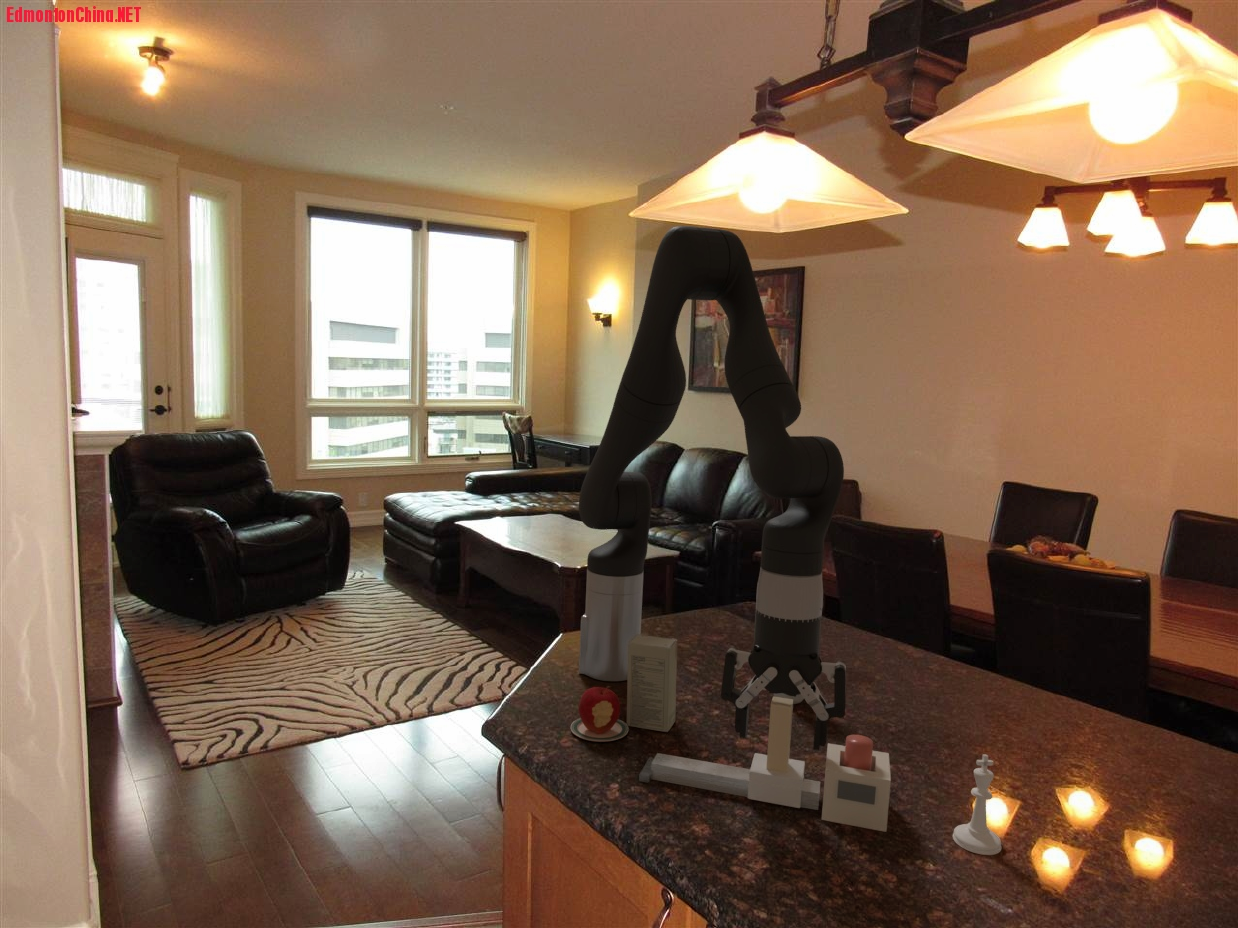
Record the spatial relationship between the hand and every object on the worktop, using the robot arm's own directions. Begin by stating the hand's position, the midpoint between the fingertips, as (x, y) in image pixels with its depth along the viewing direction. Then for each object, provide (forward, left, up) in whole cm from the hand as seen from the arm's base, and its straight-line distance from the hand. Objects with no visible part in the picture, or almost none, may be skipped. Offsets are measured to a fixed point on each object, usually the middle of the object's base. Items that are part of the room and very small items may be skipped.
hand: (779, 741), depth 97 cm
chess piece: (+22, -2, -7) cm, 23 cm away
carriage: (0, 0, -7) cm, 7 cm away
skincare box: (-19, +14, -7) cm, 25 cm away
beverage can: (-1, +31, -7) cm, 32 cm away
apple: (-25, +9, -7) cm, 28 cm away
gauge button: (+9, 0, -3) cm, 10 cm away
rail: (-5, 0, -7) cm, 9 cm away
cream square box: (+9, 0, -7) cm, 11 cm away
